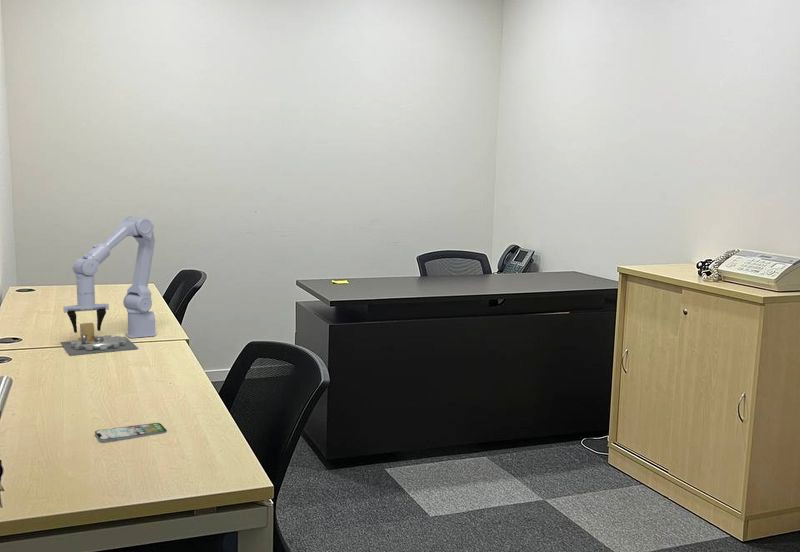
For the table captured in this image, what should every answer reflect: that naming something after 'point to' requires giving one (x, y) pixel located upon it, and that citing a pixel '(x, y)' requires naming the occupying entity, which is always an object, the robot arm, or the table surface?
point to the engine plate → (73, 351)
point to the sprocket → (98, 342)
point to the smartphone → (129, 432)
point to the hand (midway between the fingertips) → (87, 331)
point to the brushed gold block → (87, 330)
